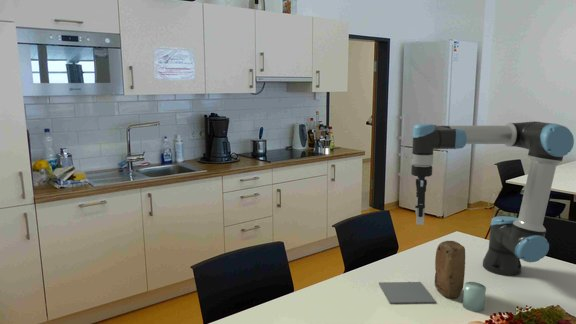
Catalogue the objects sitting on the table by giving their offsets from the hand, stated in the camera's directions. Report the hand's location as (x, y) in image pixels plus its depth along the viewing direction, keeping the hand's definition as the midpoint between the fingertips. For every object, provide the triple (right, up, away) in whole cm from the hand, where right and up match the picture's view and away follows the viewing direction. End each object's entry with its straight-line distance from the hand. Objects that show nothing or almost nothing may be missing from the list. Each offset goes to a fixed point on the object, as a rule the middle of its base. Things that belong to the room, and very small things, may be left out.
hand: (419, 219), depth 166 cm
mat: (-6, -28, -1) cm, 29 cm away
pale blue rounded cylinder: (+16, -30, -11) cm, 36 cm away
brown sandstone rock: (+10, -28, -1) cm, 30 cm away
